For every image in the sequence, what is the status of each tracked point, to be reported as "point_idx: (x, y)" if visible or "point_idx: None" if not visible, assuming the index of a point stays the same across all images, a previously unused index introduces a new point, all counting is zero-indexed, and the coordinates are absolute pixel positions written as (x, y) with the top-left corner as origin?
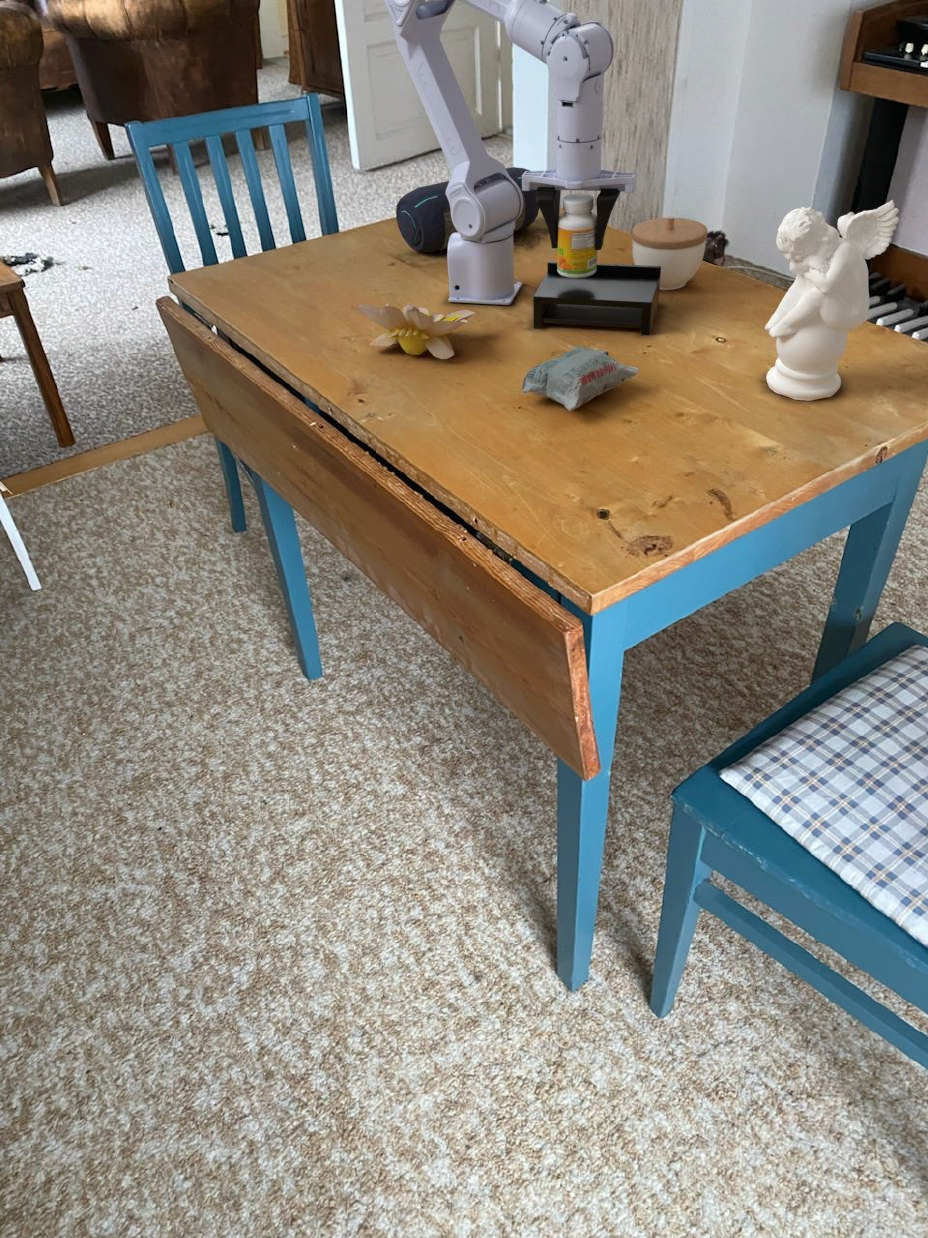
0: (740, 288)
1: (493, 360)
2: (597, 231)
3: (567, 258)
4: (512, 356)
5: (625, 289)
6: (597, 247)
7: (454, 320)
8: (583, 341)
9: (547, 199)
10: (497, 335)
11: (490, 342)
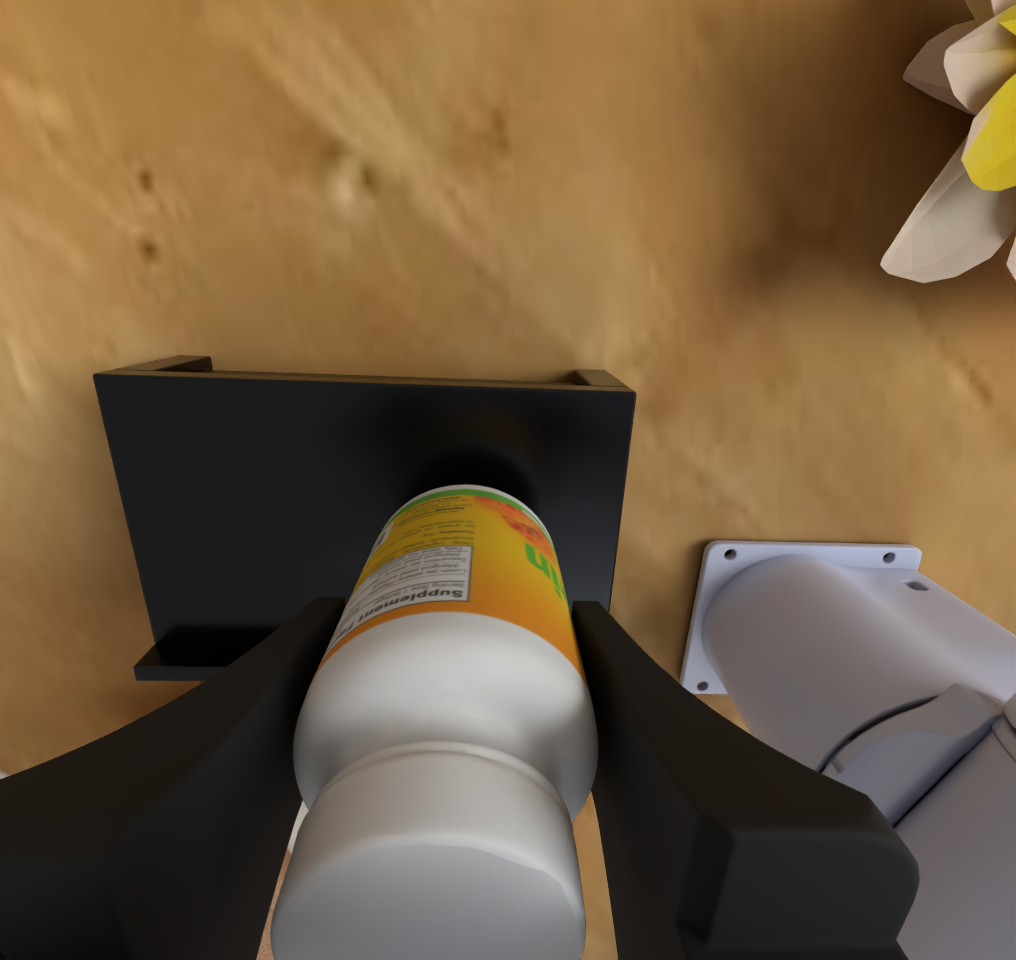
0: (13, 730)
1: (736, 28)
2: (289, 650)
3: (497, 525)
4: (660, 83)
5: (251, 504)
6: (326, 600)
7: (991, 120)
8: (404, 270)
9: (775, 829)
10: (733, 291)
11: (756, 220)
